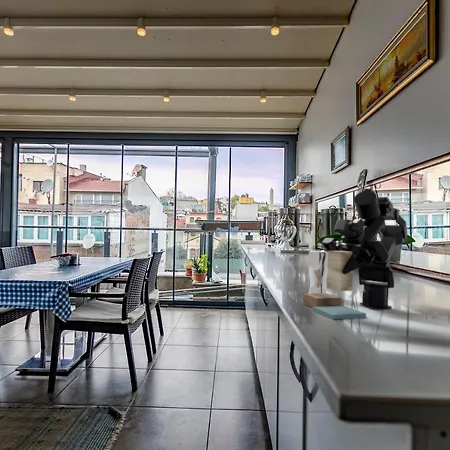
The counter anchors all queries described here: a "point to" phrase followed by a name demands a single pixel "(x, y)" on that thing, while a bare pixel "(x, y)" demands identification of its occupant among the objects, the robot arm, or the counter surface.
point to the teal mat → (339, 312)
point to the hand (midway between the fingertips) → (336, 271)
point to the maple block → (339, 271)
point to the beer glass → (318, 271)
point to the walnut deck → (321, 300)
